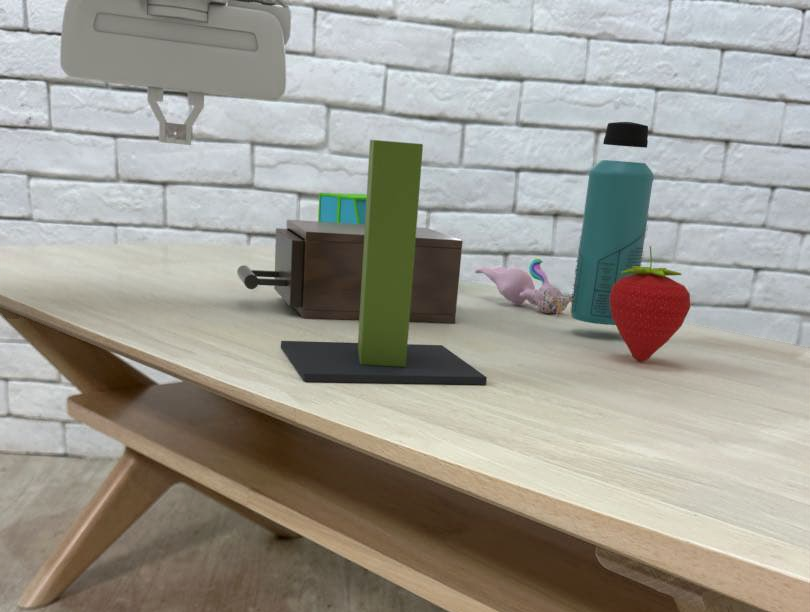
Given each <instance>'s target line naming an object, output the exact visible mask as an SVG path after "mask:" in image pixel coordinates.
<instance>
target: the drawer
mask: <svg viewBox="0 0 810 612" xmlns="http://www.w3.org/2000/svg"><path fill="white" fill-rule="evenodd" d="M304 240H305V239H304V238H302V237H301V236H300V238H299V237H298V236H296V235H295V234H293V233H292V232H290V231H289V230H287V229H286V228H275V247H274V249H275V251H274V270H261V269H251V268H250V267H249V266H247V265H240V266H239V267H238V268H237V270H236V273H237V277H238V278H239V279H240V281H241V282H242V284H243V285H244V286H245V287H246V288H247V289H248V290H254V289H256V288H258V286H271V287H273V288H274V291H276V293H277V294H278V295H279V296H280V297H281V298H282V300H283V301H284V302H285V303H286V304H287V305H288V306H289V307H290V308H294V307H302V292H303V266H304Z"/></svg>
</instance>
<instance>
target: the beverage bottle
mask: <svg viewBox="0 0 810 612" xmlns="http://www.w3.org/2000/svg"><path fill="white" fill-rule="evenodd" d="M648 138H649V125H646V124H642V123H638V122H633V121H616V122H609V123H607V125H606V129H605V134H604V138H603V143H602V144H603V145H607V146H617V147H630V148H632V147H633V148H642V149H643V148H645V149H646V148H647V149H648V144H649V143H648V142H649V141H648ZM654 180H655V175H654V172H653V171H652V170H651V168H650V167H649V166H648V165H647V164H646V162H637V161H623V160H611V159H600V160H599V161H598V162H597V163H596V164H595V165H593V166H592V167H591V168H590V169H589V170H588V181H587V188H586V196H585V204H584V210H583V219H582V227H581V235H580V237H579V238H578V241H577V242H578V243H579V245H578V248H577V250H578V254H577V259H576V261H575V262H576V265H575V266H576V267H575V270H574V277H573V279H574V284H572V286H573V287H572V293H571V297H572V299H573V300H572V299H571V300H572V303H571V302H570V308H569V310H570V313H571V318H572V319H573V320H576V321H579V322H584V323H590V324H595V325H596V324H597V325H604V326H616V324H615V322H614V320H613V318H612V315H611V307H610V299H609V296H610V293H611V291H612V288H613V285H614V284H615V283H616V282H617V281H618V280H619V279H620V278H623V277H627V276H631V275H635V274H625V273H621V272H622V271H626V269H633V268H632V267H633V266H641V267H643V254H644V247H645V239H646V236H647V235H648V233H647V232H649V231H648V221H649V216H650V214H649V209H650V202H651V195H652V188H653V183H654Z"/></svg>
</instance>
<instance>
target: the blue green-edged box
mask: <svg viewBox="0 0 810 612" xmlns="http://www.w3.org/2000/svg"><path fill="white" fill-rule="evenodd" d="M366 199H367V193H340V192H339V193H336V192H335V193H334V192H333V193H332V192H319V193H318V216H317V221H318V222H335V223H351V224H365V216H366Z"/></svg>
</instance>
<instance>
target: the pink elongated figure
mask: <svg viewBox="0 0 810 612" xmlns="http://www.w3.org/2000/svg"><path fill="white" fill-rule="evenodd" d="M542 263H543V260H542V259H540V258H534V259H533V260H532V261H531V262H530V264H529V266H528V267H529V268H528V269H529V271H528V272H529V274H528V272H526V271H525V270H523V269H522V268H517V267H512V268H507V267H501V266H500V267H499V266H498V267H492V268H490V267H479V268H477V269H476V270H474V273H475V274H483V275H485V276H486V277H487V278H488V279H489V280H490V281H491V282H493V283H494V284H495V285H496V288H497V290H498V293H499V294H500V295H501V296H503V298H505V299H506V300H508V301H509V302H510V301H511V304H512V305H514V306H521V305H523V303H525V301H528V303H530V304H531V305H533V306H537V308H538V310H539V311H540V312H541V313H543V314H551V313H555V314H556V315H557V317H559V313H561V314H563V312H564V311H566V309H567V307H568V305H569V304H571V303H572V300H573V298H572V297H571V296H572V295H571V296H564V294H563V293H562V291H561V290H560V289H559V288H557V287H556V286H553V285H552V284H551V283H550V282H549V280H548V277H547V274H546V273H545V271H544V270H543V269H542V267H541V264H542ZM532 278H533V279H535V280H537V281H540V282H541V283H542V284H541V286H540V287H539V288H538V289H536V287H535V283H534V281H533V279H532ZM571 299H572V300H571Z"/></svg>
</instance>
